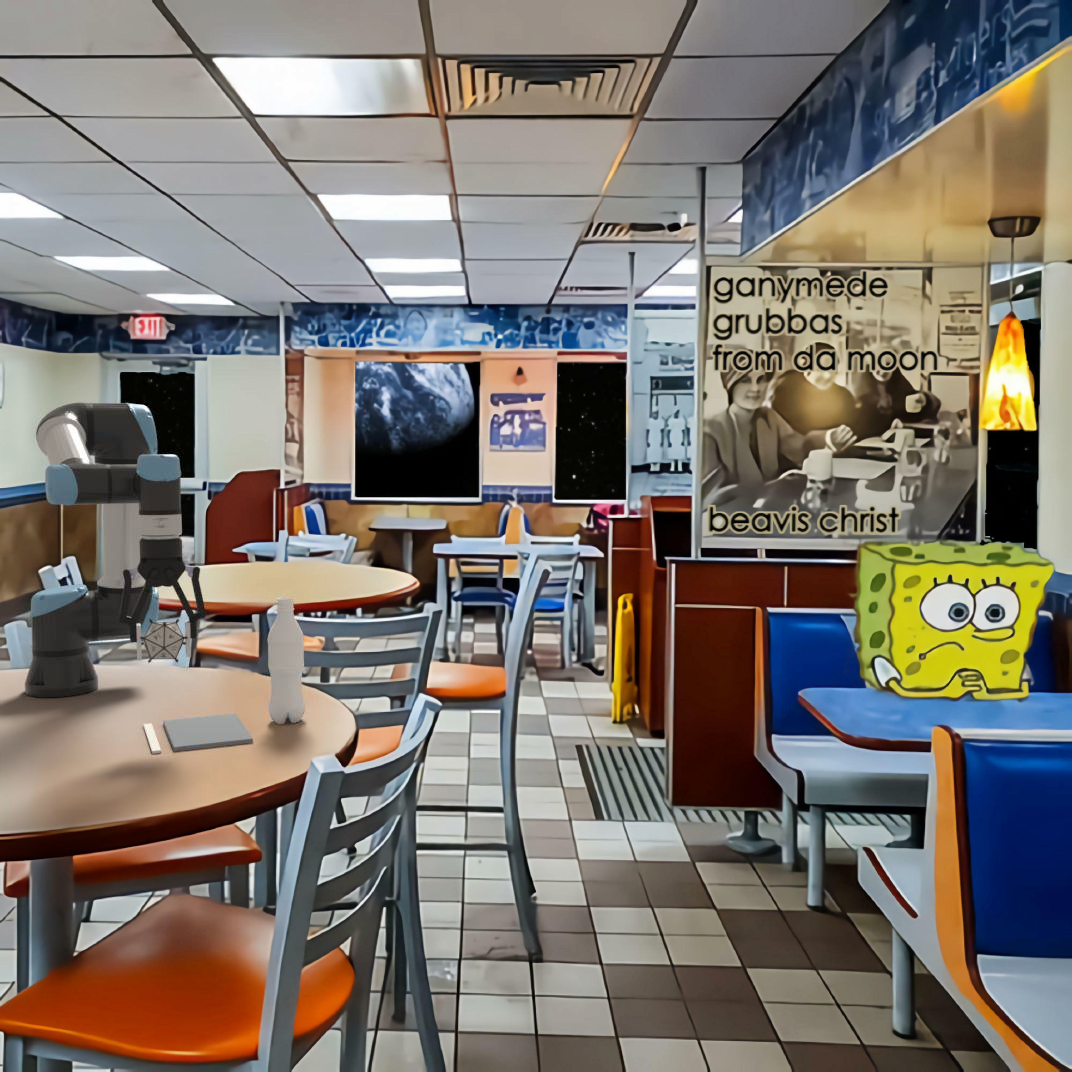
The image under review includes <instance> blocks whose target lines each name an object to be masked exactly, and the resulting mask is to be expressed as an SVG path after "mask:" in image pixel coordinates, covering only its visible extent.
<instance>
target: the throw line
mask: <svg viewBox="0 0 1072 1072" xmlns="http://www.w3.org/2000/svg"><path fill="white" fill-rule="evenodd" d="M143 730H144V733H145V735H146V739H147V742H148V746H149V748H150V750H151V754H152V755H155V754H162V750H161V745H160V744H159V741H158V738H157V735H156V732H155V729H154V726H153V723H151V722H150V723H143Z"/></svg>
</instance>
